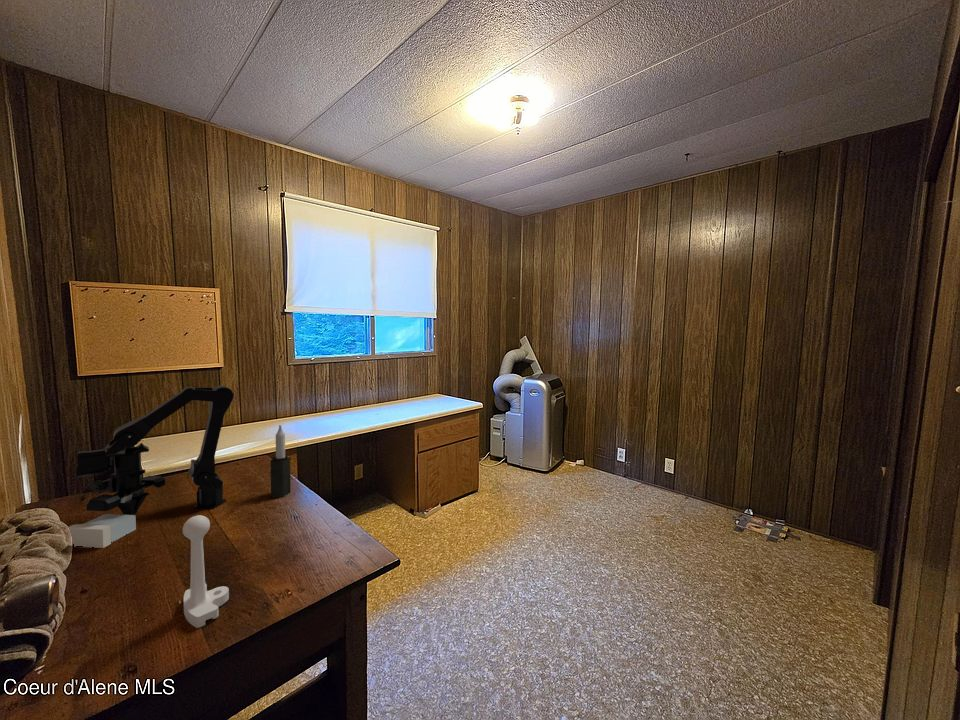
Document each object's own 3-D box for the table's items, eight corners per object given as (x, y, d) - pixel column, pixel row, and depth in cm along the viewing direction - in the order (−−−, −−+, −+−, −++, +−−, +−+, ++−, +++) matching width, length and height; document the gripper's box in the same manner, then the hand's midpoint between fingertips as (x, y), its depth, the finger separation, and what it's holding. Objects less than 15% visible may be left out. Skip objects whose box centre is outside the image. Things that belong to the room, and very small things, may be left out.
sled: (136, 529, 109) (135, 515, 108) (111, 542, 102) (110, 527, 101) (105, 528, 109) (105, 513, 109) (79, 541, 102) (78, 526, 102)
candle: (281, 498, 132) (281, 427, 130) (269, 496, 133) (268, 426, 131) (292, 492, 137) (291, 423, 135) (279, 490, 138) (279, 422, 136)
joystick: (179, 602, 80) (177, 511, 79) (221, 586, 86) (220, 500, 84) (190, 631, 73) (188, 530, 71) (236, 611, 78) (234, 517, 77)
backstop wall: (111, 543, 101) (110, 525, 101) (103, 548, 99) (102, 529, 99) (75, 542, 102) (74, 524, 101) (66, 546, 100) (66, 527, 99)
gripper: (132, 457, 120) (133, 505, 121) (65, 479, 102) (68, 535, 103) (166, 458, 120) (167, 506, 121) (105, 481, 101) (107, 537, 102)
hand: (130, 520), depth 112 cm, fingers closed
